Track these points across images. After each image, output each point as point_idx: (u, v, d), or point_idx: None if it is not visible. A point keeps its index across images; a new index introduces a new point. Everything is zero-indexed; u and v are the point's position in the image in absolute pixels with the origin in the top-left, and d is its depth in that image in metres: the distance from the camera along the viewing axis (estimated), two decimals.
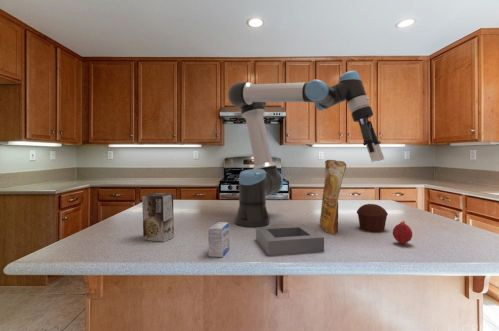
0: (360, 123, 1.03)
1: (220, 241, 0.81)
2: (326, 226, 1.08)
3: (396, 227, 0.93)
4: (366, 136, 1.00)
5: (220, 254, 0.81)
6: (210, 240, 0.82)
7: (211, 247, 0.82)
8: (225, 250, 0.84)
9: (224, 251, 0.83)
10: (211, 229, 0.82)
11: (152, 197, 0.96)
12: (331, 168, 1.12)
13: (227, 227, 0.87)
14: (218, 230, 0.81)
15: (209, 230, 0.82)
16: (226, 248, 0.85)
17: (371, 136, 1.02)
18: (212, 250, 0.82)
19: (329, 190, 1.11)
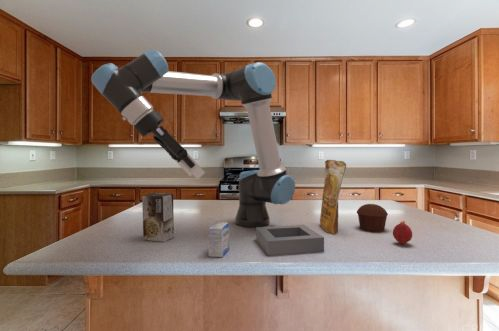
0: None
1: (220, 241, 0.81)
2: (326, 226, 1.08)
3: (396, 227, 0.93)
4: None
5: (220, 254, 0.81)
6: (210, 240, 0.82)
7: (211, 247, 0.82)
8: (225, 250, 0.84)
9: (224, 251, 0.83)
10: (211, 229, 0.82)
11: (152, 197, 0.96)
12: (331, 168, 1.12)
13: (227, 227, 0.87)
14: (218, 230, 0.81)
15: (209, 230, 0.82)
16: (226, 248, 0.85)
17: (170, 154, 0.83)
18: (212, 250, 0.82)
19: (329, 190, 1.11)
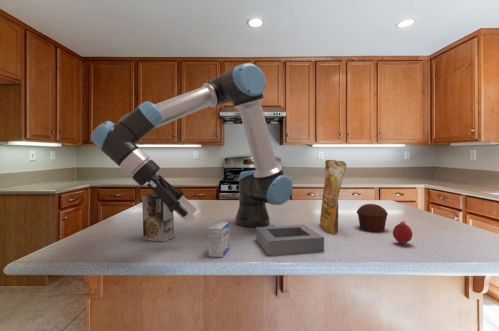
0: None
1: (220, 241, 0.81)
2: (326, 226, 1.08)
3: (396, 227, 0.93)
4: None
5: (220, 254, 0.81)
6: (210, 240, 0.82)
7: (211, 247, 0.82)
8: (225, 250, 0.84)
9: (224, 251, 0.83)
10: (211, 229, 0.82)
11: (152, 197, 0.96)
12: (331, 168, 1.12)
13: (227, 227, 0.87)
14: (218, 230, 0.81)
15: (209, 230, 0.82)
16: (226, 248, 0.85)
17: None
18: (212, 250, 0.82)
19: (329, 190, 1.11)
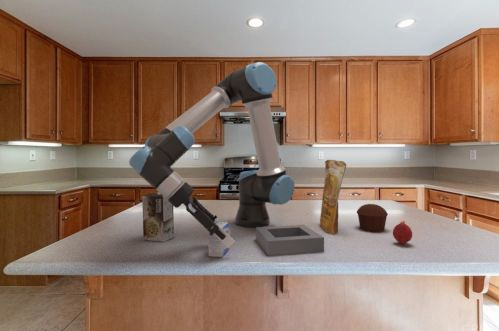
0: None
1: (220, 241, 0.81)
2: (326, 226, 1.08)
3: (396, 227, 0.93)
4: None
5: (220, 254, 0.81)
6: (210, 240, 0.82)
7: (211, 247, 0.82)
8: (225, 250, 0.84)
9: (224, 251, 0.83)
10: None
11: (152, 197, 0.96)
12: (331, 168, 1.12)
13: (227, 227, 0.86)
14: None
15: None
16: (226, 248, 0.85)
17: None
18: (212, 250, 0.82)
19: (329, 190, 1.11)
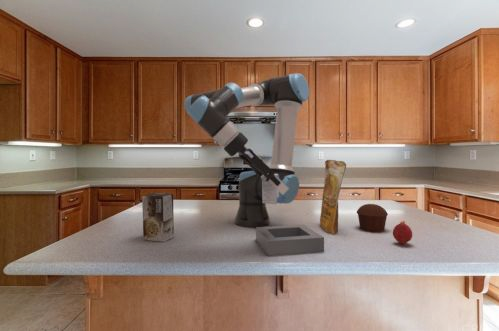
0: None
1: (274, 188, 0.84)
2: (326, 226, 1.08)
3: (396, 227, 0.93)
4: None
5: (274, 200, 0.84)
6: (264, 187, 0.85)
7: (265, 194, 0.85)
8: (277, 198, 0.87)
9: (277, 199, 0.86)
10: (265, 177, 0.85)
11: (152, 197, 0.96)
12: (331, 168, 1.12)
13: (278, 177, 0.90)
14: None
15: (263, 177, 0.85)
16: None
17: (255, 170, 0.92)
18: (266, 196, 0.85)
19: (329, 190, 1.11)
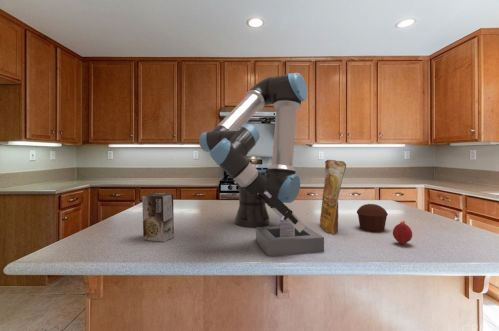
0: None
1: (292, 231, 0.88)
2: (326, 226, 1.08)
3: (396, 227, 0.93)
4: None
5: None
6: (282, 230, 0.89)
7: None
8: None
9: None
10: (283, 220, 0.88)
11: (152, 197, 0.96)
12: (331, 168, 1.12)
13: None
14: None
15: (281, 221, 0.88)
16: None
17: (268, 204, 0.96)
18: None
19: (329, 190, 1.11)
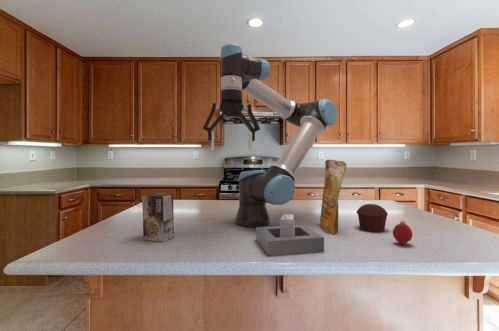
0: None
1: (292, 231, 0.88)
2: (326, 226, 1.08)
3: (396, 227, 0.93)
4: None
5: None
6: (282, 230, 0.89)
7: None
8: None
9: None
10: (283, 220, 0.88)
11: (152, 197, 0.96)
12: (331, 168, 1.12)
13: (294, 218, 0.93)
14: (290, 221, 0.88)
15: (281, 221, 0.88)
16: None
17: (215, 124, 0.96)
18: None
19: (329, 190, 1.11)
